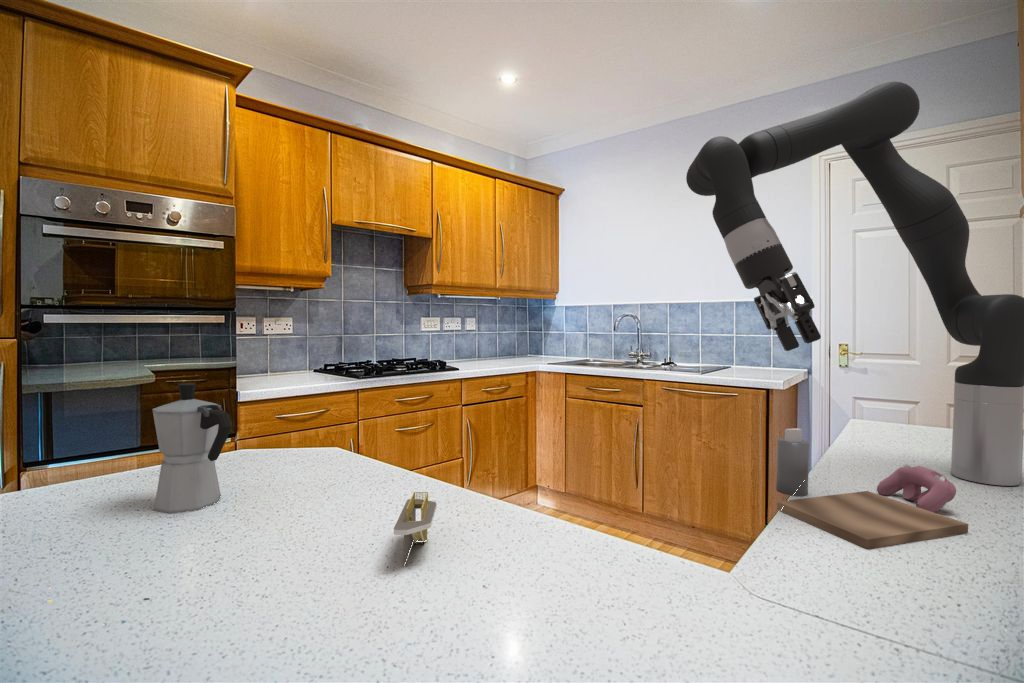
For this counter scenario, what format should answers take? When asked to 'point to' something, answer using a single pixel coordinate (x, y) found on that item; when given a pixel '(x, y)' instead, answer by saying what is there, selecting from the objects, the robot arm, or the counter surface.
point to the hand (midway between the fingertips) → (802, 345)
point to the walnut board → (871, 519)
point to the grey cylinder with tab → (792, 463)
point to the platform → (409, 524)
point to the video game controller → (919, 487)
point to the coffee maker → (189, 451)
